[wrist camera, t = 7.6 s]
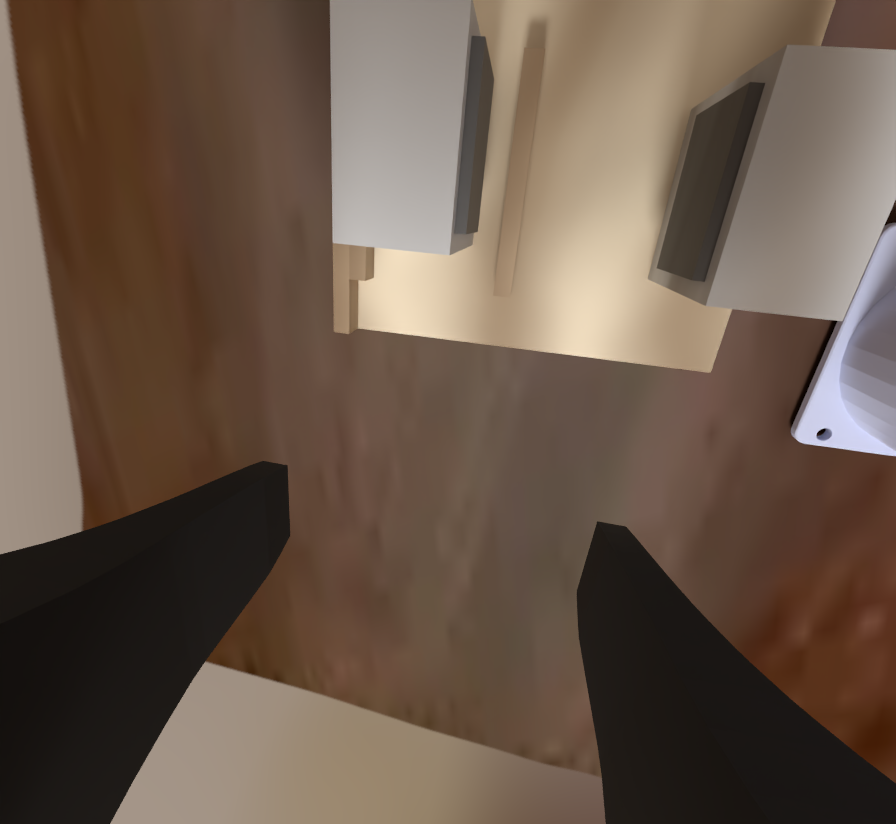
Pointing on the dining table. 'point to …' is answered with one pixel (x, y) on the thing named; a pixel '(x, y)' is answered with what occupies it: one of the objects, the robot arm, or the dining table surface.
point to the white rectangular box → (408, 123)
